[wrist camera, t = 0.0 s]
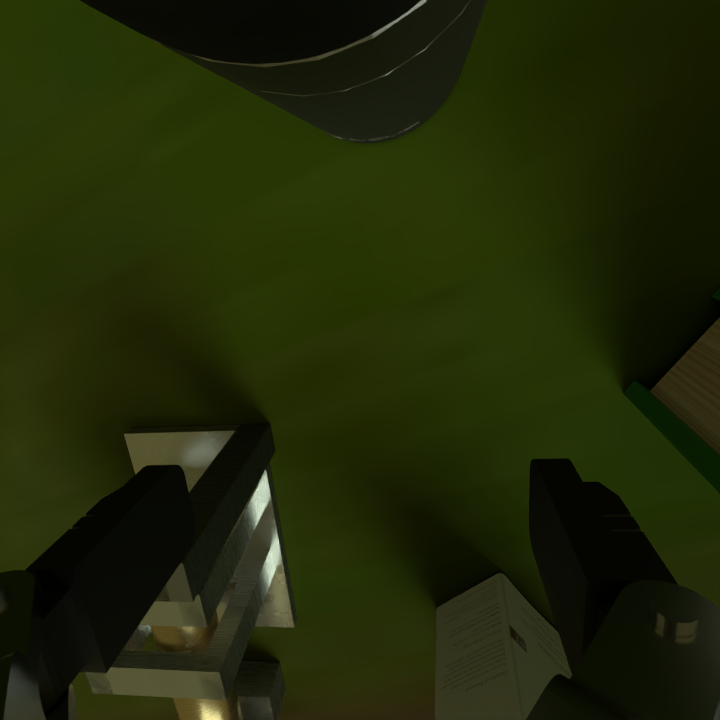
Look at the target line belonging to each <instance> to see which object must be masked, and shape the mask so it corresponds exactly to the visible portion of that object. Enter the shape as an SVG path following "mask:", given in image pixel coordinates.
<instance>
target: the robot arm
mask: <svg viewBox="0 0 720 720" xmlns="http://www.w3.org/2000/svg"><path fill="white" fill-rule="evenodd" d="M80 1H82V2H84V3H85V4H87V5H89V6H91V7H92V8H94V9H96V10H98V11H100V12H102V13H104V14H105V15H107V16H109V17H111V18H113V19H115V20H117V21H118V22H120V23H122V24H124V25H126V26H128V27H129V28H131V29H133V30H135V31H137V32H139V33H141V34H143V35H145V36H147V37H149V38H151V39H152V40H154V41H155V42H157V43H159V44H161V45H163V46H164V47H166V48H168V49H170V50H172V51H174V52H176V53H178V54H179V55H181V56H183V57H185V58H187V59H189V60H191V61H193V62H195V63H196V64H198V65H200V66H202V67H204V68H206V69H208V70H210V71H211V72H213V73H215V74H217V75H219V76H221V77H223V78H225V79H227V80H229V81H231V82H233V83H235V84H237V85H238V86H240V87H242V88H244V89H246V90H248V91H250V92H251V93H253V94H255V95H257V96H259V97H261V98H263V99H265V100H266V101H268V102H270V103H272V104H274V105H276V106H278V107H280V108H281V109H283V110H285V111H287V112H289V113H291V114H293V115H294V116H296V117H298V118H300V119H302V120H304V121H306V122H308V123H309V124H311V125H313V126H315V127H317V128H319V129H321V130H323V131H325V132H326V134H328V135H331V136H333V137H336V138H339V139H343V140H348V141H352V142H356V143H379V142H383V141H388V140H392V139H396V138H398V137H400V136H403V135H405V134H407V133H409V132H411V131H413V130H415V129H416V128H417V127H419V126H420V125H421V124H423V123H424V122H425V121H427V120H428V119H429V118H430V117H432V115H433V114H434V113H435V112H436V111H437V110H438V109H439V107H440V106H441V105H442V104H443V103H444V102H445V100H446V99H447V97H448V96H449V94H450V92H451V90H452V89H453V87H454V85H455V83H456V82H457V80H458V77H459V75H460V72H461V69H462V67H463V64H464V61H465V59H466V56H467V54H468V51H469V49H470V46H471V44H472V41H473V38H474V35H475V33H476V30H477V27H478V24H479V21H480V19H481V16H482V13H483V10H484V8H485V5H486V2H487V0H80ZM529 531H530V540H531V545H532V550H533V554H534V557H535V560H536V563H537V566H538V569H539V573H540V576H541V579H542V582H543V585H544V588H545V592H546V595H547V598H548V601H549V604H550V607H551V610H552V614H553V617H554V620H555V623H556V626H557V629H558V633H559V636H560V639H561V642H562V645H563V648H564V651H565V655H566V658H567V661H568V664H569V667H570V670H571V674H572V677H571V678H570V679H568V678H567V677H565V676H563V675H562V674H557V675H555V676H554V677H553V678H552V679H551V680H550V681H549V683H548V684H547V686H546V687H545V689H544V690H543V692H542V694H541V695H540V697H539V699H538V700H537V702H536V704H535V705H534V707H533V708H532V710H531V712H530V713H529V715H528V717H527V718H526V720H720V609H719V608H718V607H717V606H716V605H715V604H713V603H712V602H711V601H709V600H708V599H707V598H705V597H704V596H702V595H700V594H698V593H697V592H695V591H693V590H690V589H688V588H686V587H683V586H680V585H678V584H677V582H676V581H675V579H674V578H673V576H672V575H671V573H670V572H669V570H668V569H667V567H666V566H665V564H664V563H663V561H662V560H661V558H660V557H659V555H658V554H657V552H656V551H655V549H654V548H653V546H652V545H651V543H650V542H649V540H648V539H647V537H646V536H645V534H644V533H643V532H641V531H640V527H639V525H638V524H637V523H636V521H635V520H634V518H633V517H631V515H630V512H629V511H628V509H627V508H626V506H625V505H624V503H623V502H622V500H621V499H620V497H619V496H618V495H616V494H615V493H614V492H612V491H611V490H609V489H608V488H606V487H605V486H604V485H602V484H601V483H599V482H583V481H582V480H581V478H580V476H579V474H578V473H577V471H576V469H575V468H574V466H573V464H572V462H571V461H570V460H569V459H568V458H567V459H532V460H531V464H530V493H529ZM194 536H195V518H194V513H193V509H192V504H191V500H190V495H189V491H188V486H187V482H186V477H185V473H184V471H183V469H182V467H181V466H179V465H147V466H144V467H143V468H142V469H141V470H140V471H139V472H138V473H137V474H136V475H135V476H134V477H133V478H131V479H130V480H129V481H128V482H127V483H126V484H125V485H124V486H123V487H122V488H120V489H118V490H116V491H115V492H113V493H111V494H110V495H108V496H106V497H104V498H103V499H101V500H100V501H99V502H98V503H97V504H96V505H95V506H94V507H93V508H92V509H91V510H89V511H88V512H87V513H86V517H82V518H81V519H80V520H79V521H78V522H77V523H75V524H74V525H73V528H72V529H69V530H68V531H67V532H66V533H65V534H64V535H62V536H61V537H60V538H59V539H58V540H57V541H56V542H55V543H54V544H53V545H52V546H51V547H50V548H48V549H47V550H46V551H45V552H44V553H43V554H42V555H41V556H40V557H39V558H38V559H37V560H35V561H34V562H33V563H32V564H31V565H30V566H29V567H28V568H27V569H26V570H25V571H24V570H13V571H7V572H2V573H0V720H76V695H75V691H74V688H73V685H72V681H73V680H74V679H75V677H76V676H77V674H78V673H79V672H93V673H107V672H108V670H109V669H110V667H111V666H112V664H113V663H114V661H115V660H116V659H117V657H118V656H119V654H120V653H121V651H122V650H123V648H124V647H125V645H126V644H127V642H128V641H129V639H130V638H131V636H132V635H133V633H134V632H135V630H136V629H137V627H138V626H139V624H140V623H141V621H142V620H143V618H144V617H145V615H146V614H147V612H148V611H149V609H150V608H151V606H152V605H153V603H154V602H155V600H156V599H157V597H158V596H159V594H160V593H161V591H162V590H163V588H164V587H165V585H166V584H167V582H168V581H169V579H170V578H171V576H172V575H173V573H174V572H175V570H176V569H177V567H178V566H179V564H180V563H181V561H182V560H183V558H184V557H185V556H186V554H187V553H188V551H189V550H190V548H191V546H192V543H193V540H194Z"/></svg>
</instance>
